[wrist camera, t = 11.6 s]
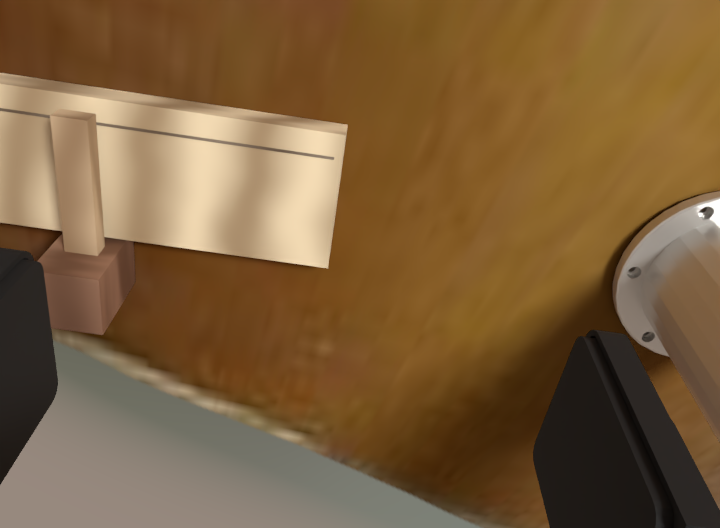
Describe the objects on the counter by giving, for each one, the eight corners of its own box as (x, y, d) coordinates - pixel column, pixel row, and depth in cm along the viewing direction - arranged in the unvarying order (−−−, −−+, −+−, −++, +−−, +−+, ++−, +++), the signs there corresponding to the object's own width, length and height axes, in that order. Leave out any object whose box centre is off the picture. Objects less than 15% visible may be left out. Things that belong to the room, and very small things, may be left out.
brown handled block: (127, 104, 38) (87, 139, 33) (135, 291, 45) (103, 345, 40) (59, 93, 38) (8, 128, 33) (77, 283, 45) (38, 336, 40)
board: (347, 124, 39) (346, 135, 37) (329, 254, 43) (327, 268, 42) (-29, 68, 38) (-47, 76, 36) (-6, 206, 42) (-21, 219, 41)
